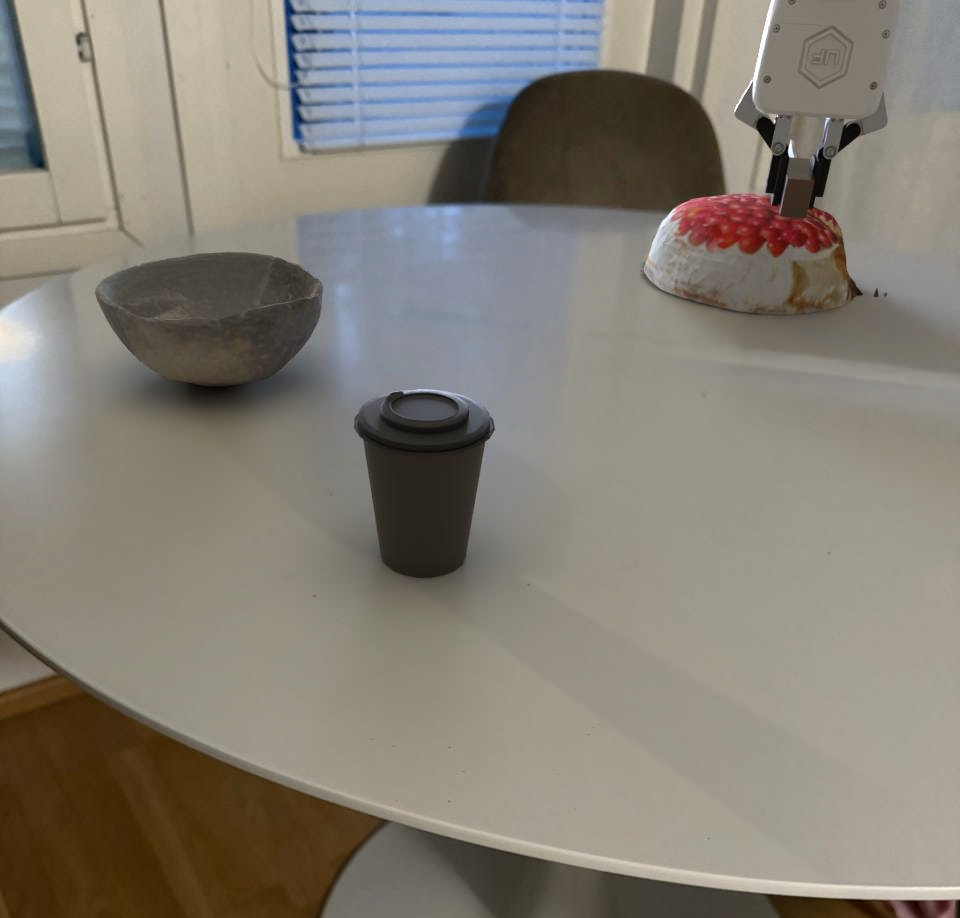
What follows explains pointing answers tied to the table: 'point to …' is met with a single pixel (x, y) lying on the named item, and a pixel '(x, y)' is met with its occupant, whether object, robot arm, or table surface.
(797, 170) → the knife
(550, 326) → the table surface
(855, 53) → the robot arm
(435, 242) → the table surface
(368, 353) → the table surface
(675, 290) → the cake
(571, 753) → the table surface
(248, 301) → the bowl
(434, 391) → the coffee cup
